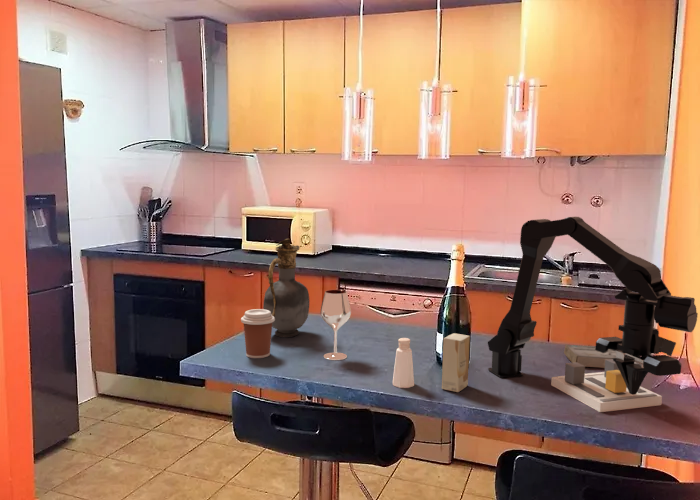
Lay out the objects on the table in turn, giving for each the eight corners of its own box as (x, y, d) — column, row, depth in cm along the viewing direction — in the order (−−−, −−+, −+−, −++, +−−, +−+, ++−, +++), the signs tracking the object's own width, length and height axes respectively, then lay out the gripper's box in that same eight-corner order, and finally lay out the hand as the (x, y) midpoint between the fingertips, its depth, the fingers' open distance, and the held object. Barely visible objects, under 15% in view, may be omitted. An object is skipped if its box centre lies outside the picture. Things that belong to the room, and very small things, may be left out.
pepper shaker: (417, 382, 143) (419, 337, 142) (410, 389, 138) (411, 343, 137) (396, 379, 145) (397, 335, 144) (388, 386, 140) (389, 340, 139)
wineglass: (315, 359, 160) (315, 293, 158) (327, 351, 168) (328, 287, 166) (343, 362, 157) (344, 295, 155) (354, 354, 165) (355, 290, 163)
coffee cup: (265, 361, 158) (265, 316, 156) (235, 357, 161) (234, 313, 159) (280, 351, 166) (280, 309, 165) (251, 348, 169) (250, 307, 168)
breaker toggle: (614, 392, 131) (615, 375, 130) (605, 388, 134) (606, 370, 133) (626, 391, 132) (627, 374, 131) (616, 387, 135) (617, 369, 134)
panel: (599, 412, 126) (601, 382, 125) (551, 385, 142) (552, 359, 141) (661, 404, 131) (663, 376, 130) (607, 379, 147) (609, 354, 146)
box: (563, 354, 166) (564, 343, 166) (626, 358, 165) (627, 347, 165) (575, 367, 156) (576, 356, 155) (643, 371, 155) (644, 359, 154)
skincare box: (458, 393, 136) (460, 341, 135) (440, 389, 138) (442, 338, 137) (468, 385, 142) (470, 334, 140) (451, 381, 144) (453, 332, 142)
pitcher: (313, 330, 191) (313, 236, 187) (286, 345, 173) (286, 242, 169) (282, 326, 194) (282, 235, 191) (253, 341, 176) (252, 240, 173)
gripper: (706, 331, 119) (699, 406, 121) (637, 310, 137) (632, 376, 139) (661, 335, 116) (654, 412, 118) (596, 313, 134) (591, 380, 136)
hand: (632, 393), depth 128 cm, fingers closed
